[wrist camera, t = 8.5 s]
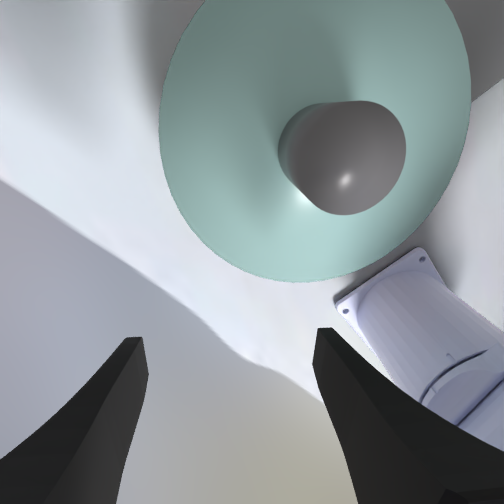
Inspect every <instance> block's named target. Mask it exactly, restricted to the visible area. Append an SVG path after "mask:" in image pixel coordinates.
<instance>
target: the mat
mask: <svg viewBox="0 0 504 504" xmlns="http://www.w3.org/2000/svg"><path fill="white" fill-rule="evenodd" d="M445 2H446V4H447V5H448V7H449V8H450V10H451V11H452V13H453V15H454V18H455V20H456V22H457V25H458V27H459V29H460V32H461V34H462V37H463V41H464V45H465V48H466V52H467V56H468V62H469V69H470V77H471V102H473V101H474V100H475V99H477V98H478V97H479V96H481V95H482V94H483V93H484V92H486V91H487V90H488V89H490V88H491V87H492V86H494V85H495V84H496V83H497V82H499V81H500V80H501V79H503V78H504V0H445Z"/></svg>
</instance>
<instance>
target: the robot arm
mask: <svg viewBox="0 0 504 504" xmlns="http://www.w3.org/2000/svg"><path fill="white" fill-rule="evenodd" d="M421 257H422V259H421V260H419V259H420V258H421ZM335 308H336V310H337V311H338V312H339V314H340V315H341V316H342V317H343V318H344V319H345V320H346V322H347V323H348V324H349V325H350V326H351V327H352V328H353V330H354V331H355V332H356V333H357V334H358V335H359V336H360V338H361V339H362V340H363V341H364V342H365V343H366V344H367V346H368V347H369V348H370V349H371V350H372V351H373V352H374V354H375V355H376V356H377V357H378V358H379V359H380V361H381V363H382V364H383V366H384V367H385V369H386V370H387V372H388V373H389V375H390V377H391V378H392V380H393V381H394V383H395V384H396V385H395V384H393V383H392V382H391V381H390V380H388V379H387V378H386V377H385V376H384V375H382V374H381V373H380V372H379V371H378V370H376V369H375V368H374V367H373V366H372V365H371V364H370V363H368V362H367V361H366V360H365V359H364V358H363V357H362V356H361V355H360V354H359V353H358V352H357V351H355V350H354V349H353V348H352V347H351V346H350V345H349V344H348V343H347V342H346V341H345V340H344V339H343V338H342V337H341V336H340V335H339V334H338V333H337V332H336V331H335V330H334V329H333V328H318V330H317V337H316V343H315V350H314V357H313V363H312V365H313V369H314V373H315V377H316V380H317V384H318V388H319V390H320V393H321V396H322V398H323V401H324V403H325V406H326V408H327V411H328V413H329V416H330V418H331V421H332V423H333V426H334V428H335V431H336V433H337V436H338V439H339V441H340V444H341V447H342V449H343V452H344V456H345V459H346V462H347V465H348V469H349V472H350V476H351V479H352V483H353V486H354V490H355V493H356V497H357V501H358V504H504V332H503V331H501V330H500V329H499V328H497V327H496V326H495V325H494V324H492V323H491V322H490V321H488V320H487V319H486V318H485V317H483V316H482V315H481V314H479V313H478V312H477V311H476V310H474V309H473V308H472V307H470V306H469V305H468V304H467V303H465V302H464V301H463V300H462V299H460V298H459V297H458V296H456V295H455V294H454V293H453V292H451V291H450V290H449V289H448V288H447V286H446V285H445V283H444V281H443V280H442V278H441V276H440V275H439V273H438V271H437V270H436V268H435V266H434V265H433V263H432V261H431V260H430V258H429V256H428V255H427V253H426V251H425V250H424V249H422V248H420V247H417V248H415V249H413V250H412V251H410V252H409V253H407V254H406V255H405V256H403V257H402V258H400V259H399V260H397V261H396V262H394V263H393V264H391V265H390V266H389V267H387V268H386V269H384V270H383V271H381V272H380V273H378V274H377V275H375V276H374V277H373V278H371V279H370V280H368V281H367V282H365V283H364V284H362V285H361V286H359V287H358V288H357V289H355V290H354V291H352V292H351V293H349V294H348V295H346V296H345V297H343V298H342V299H341V300H339V301H338V302H337V303H336V304H335ZM344 309H346V310H345V311H343V310H344ZM148 375H149V373H148V367H147V362H146V356H145V351H144V344H143V339H142V337H129V338H125V339H124V340H123V342H122V343H121V344H120V345H119V346H118V348H117V349H116V350H115V351H114V352H113V353H112V355H111V356H110V357H109V358H108V359H107V360H106V362H105V363H104V364H103V365H102V366H101V367H100V368H99V370H98V371H97V372H96V373H95V374H94V375H93V376H92V377H91V378H90V380H89V381H88V382H87V383H86V384H85V385H84V386H83V387H82V388H81V389H80V390H79V391H78V392H77V393H76V394H75V395H74V396H73V398H71V399H70V400H69V401H68V402H67V403H66V404H65V405H64V406H63V407H62V408H61V409H60V410H59V411H58V412H57V413H56V414H55V415H54V416H52V417H51V418H50V419H49V420H48V421H47V422H46V423H45V424H44V425H42V426H41V427H40V428H39V429H38V430H37V431H35V432H34V433H33V434H32V435H31V436H29V437H28V438H27V439H26V440H24V441H23V442H22V443H21V444H19V445H18V446H17V447H16V448H14V449H13V450H12V451H11V452H9V453H8V454H7V455H6V456H4V457H3V458H2V459H0V504H116V501H117V496H118V491H119V487H120V482H121V477H122V473H123V469H124V465H125V462H126V458H127V455H128V452H129V448H130V445H131V442H132V439H133V435H134V432H135V428H136V425H137V422H138V419H139V415H140V412H141V409H142V405H143V402H144V397H145V392H146V387H147V381H148Z"/></svg>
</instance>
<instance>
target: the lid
mask: <svg viewBox="0 0 504 504" xmlns="http://www.w3.org/2000/svg"><path fill="white" fill-rule="evenodd" d="M470 108H471V77H470V69H469V62H468V56H467V52H466V48H465V45H464V41H463V37H462V34H461V32H460V29H459V27H458V25H457V22H456V20H455V18H454V15H453V13H452V11H451V10H450V8H449V7H448V5H447V4H446V2H445V0H206V1H205V2H204V3H203V4H202V6H201V7H200V8H199V9H198V10H197V12H196V13H195V15H194V17H193V18H192V20H191V21H190V23H189V25H188V26H187V28H186V29H185V31H184V32H183V34H182V36H181V39H180V41H179V43H178V45H177V47H176V49H175V52H174V54H173V56H172V58H171V62H170V65H169V68H168V71H167V75H166V78H165V81H164V85H163V91H162V97H161V103H160V112H159V142H160V154H161V159H162V164H163V169H164V174H165V177H166V180H167V183H168V186H169V189H170V192H171V195H172V197H173V199H174V201H175V203H176V205H177V207H178V209H179V211H180V213H181V215H182V216H183V218H184V219H185V221H186V222H187V224H188V225H189V227H190V228H191V229H192V231H193V232H194V233H195V234H196V235H197V236H198V237H199V239H200V240H201V241H202V242H203V243H204V244H205V245H206V246H207V247H208V248H210V249H211V250H212V251H213V252H214V253H215V254H216V255H218V256H219V257H221V258H222V259H224V260H225V261H227V262H228V263H230V264H231V265H233V266H235V267H237V268H239V269H241V270H243V271H245V272H248V273H250V274H253V275H256V276H259V277H262V278H266V279H271V280H275V281H283V282H292V283H293V282H315V281H323V280H328V279H332V278H336V277H341V276H344V275H346V274H349V273H352V272H355V271H357V270H359V269H361V268H364V267H366V266H368V265H370V264H372V263H374V262H375V261H377V260H379V259H380V258H382V257H383V256H385V255H387V254H388V253H389V252H391V251H392V250H393V249H395V248H396V247H397V246H399V245H400V244H401V243H402V242H403V241H404V240H406V239H407V238H408V237H409V236H410V235H411V234H412V233H413V232H414V231H415V230H416V229H417V228H418V227H419V226H420V225H421V223H422V222H423V221H424V220H425V219H426V218H427V217H428V215H429V214H430V212H431V211H432V210H433V208H434V207H435V206H436V204H437V203H438V201H439V200H440V198H441V196H442V195H443V193H444V191H445V189H446V188H447V186H448V184H449V182H450V180H451V178H452V176H453V173H454V171H455V169H456V167H457V165H458V162H459V159H460V156H461V153H462V150H463V147H464V143H465V139H466V134H467V130H468V125H469V117H470Z"/></svg>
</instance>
